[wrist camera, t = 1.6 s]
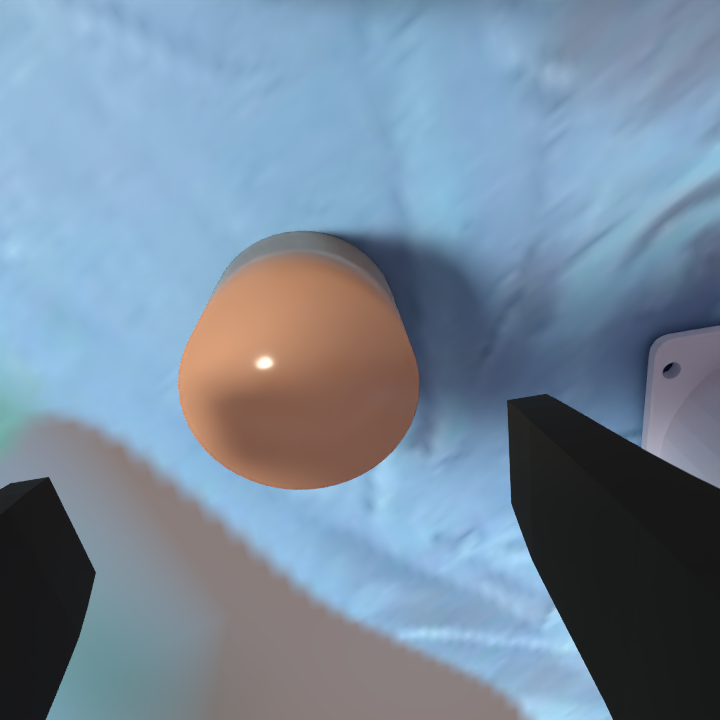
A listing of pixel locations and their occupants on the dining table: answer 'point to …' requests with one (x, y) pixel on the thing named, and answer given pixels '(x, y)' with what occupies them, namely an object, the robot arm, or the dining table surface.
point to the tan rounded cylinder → (300, 365)
